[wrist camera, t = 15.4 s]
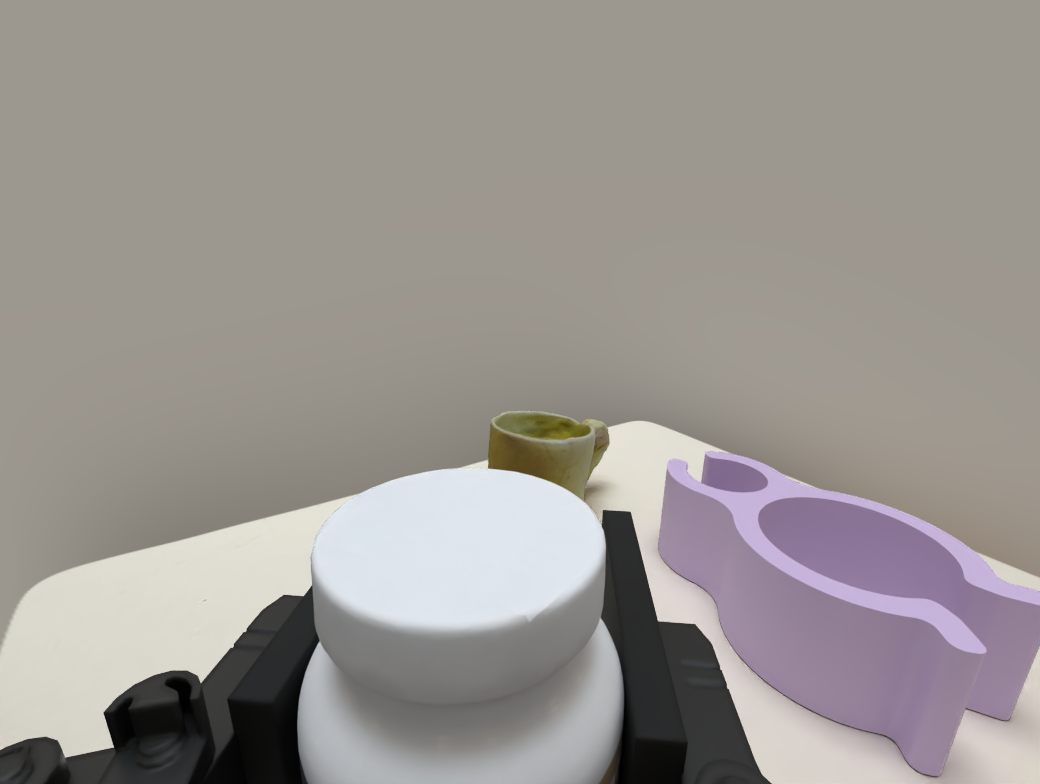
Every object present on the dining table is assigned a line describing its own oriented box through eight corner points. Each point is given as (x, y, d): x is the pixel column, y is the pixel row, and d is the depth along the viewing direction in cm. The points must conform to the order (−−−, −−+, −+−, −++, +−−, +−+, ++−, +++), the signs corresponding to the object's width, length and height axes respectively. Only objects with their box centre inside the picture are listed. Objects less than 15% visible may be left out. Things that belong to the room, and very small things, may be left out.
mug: (503, 538, 36) (514, 404, 36) (464, 512, 45) (474, 405, 46) (639, 536, 40) (647, 417, 41) (578, 513, 50) (585, 416, 51)
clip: (619, 549, 38) (626, 468, 36) (733, 515, 43) (745, 443, 41) (902, 805, 21) (946, 678, 19) (1036, 697, 26) (1082, 589, 24)
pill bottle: (647, 1092, 9) (721, 632, 6) (303, 1201, 8) (182, 708, 5) (562, 763, 14) (577, 444, 11) (355, 801, 13) (314, 460, 10)
